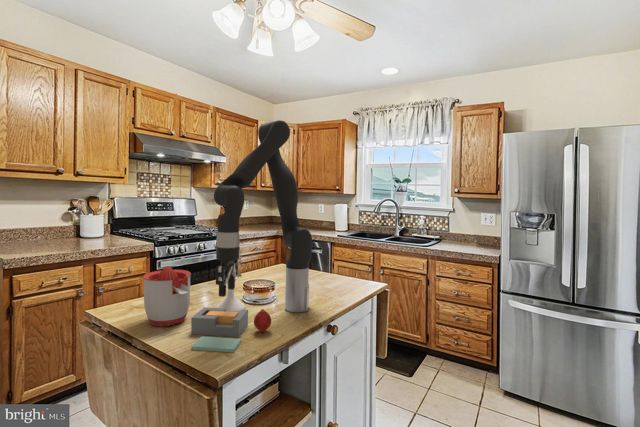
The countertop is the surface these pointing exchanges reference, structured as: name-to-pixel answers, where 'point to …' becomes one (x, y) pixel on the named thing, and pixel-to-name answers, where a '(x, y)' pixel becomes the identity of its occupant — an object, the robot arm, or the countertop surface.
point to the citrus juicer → (166, 296)
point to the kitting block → (212, 327)
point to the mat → (216, 344)
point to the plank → (223, 316)
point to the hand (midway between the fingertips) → (227, 292)
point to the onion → (262, 320)
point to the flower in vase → (232, 299)
